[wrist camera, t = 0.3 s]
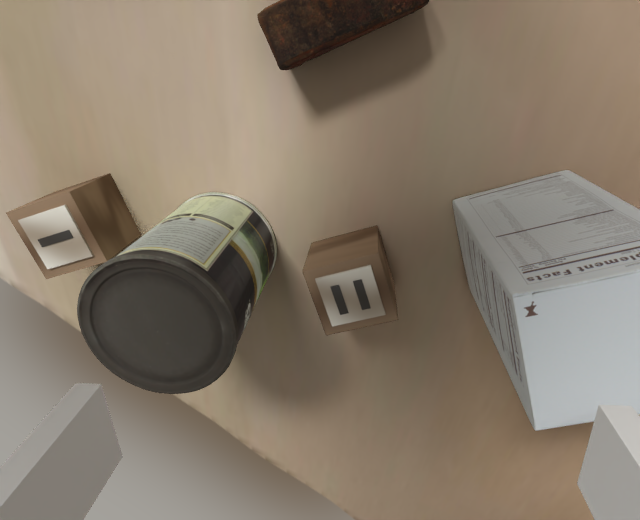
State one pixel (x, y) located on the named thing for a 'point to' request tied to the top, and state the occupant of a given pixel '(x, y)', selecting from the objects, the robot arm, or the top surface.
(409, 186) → the top surface
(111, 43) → the top surface
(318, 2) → the brick
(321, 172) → the top surface
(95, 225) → the number block left
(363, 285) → the number block right
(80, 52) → the top surface
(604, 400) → the supplement box
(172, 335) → the coffee can
